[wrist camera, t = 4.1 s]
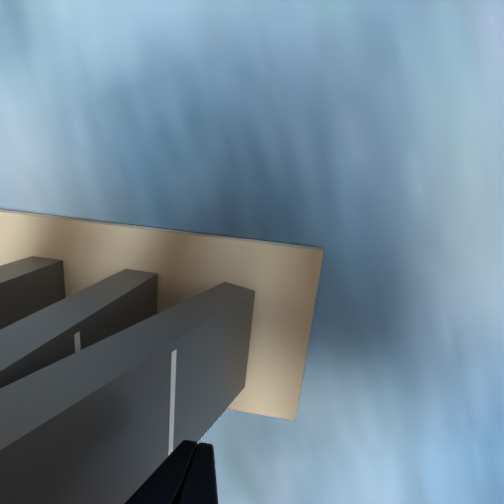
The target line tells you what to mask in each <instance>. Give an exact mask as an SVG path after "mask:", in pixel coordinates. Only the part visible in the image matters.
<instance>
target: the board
mask: <svg viewBox="0 0 504 504" xmlns="http://www.w3.org/2000/svg"><path fill="white" fill-rule="evenodd" d="M323 254H324V250H323V248H319V247H311V246H302V245H294V244H286V243H277V242H269V241H261V240H253V239H244V238H236V237H228V236H219V235H211V234H203V233H194V232H186V231H178V230H169V229H161V228H153V227H144V226H136V225H128V224H119V223H111V222H103V221H95V220H86V219H78V218H70V217H61V216H53V215H45V214H36V213H28V212H20V211H11V210H3V209H0V266H1V265H4V264H8V263H11V262H14V261H17V260H21V259H24V258H27V257H30V256H36V257H44V258H51V259H59V260H63V270H64V284H65V298H66V297H68V296H70V295H73V294H75V293H77V292H79V291H81V290H83V289H85V288H87V287H89V286H91V285H93V284H95V283H97V282H99V281H101V280H103V279H105V278H108V277H110V276H112V275H114V274H116V273H118V272H120V271H122V270H124V269H132V270H138V271H145V272H151V273H157V314H158V313H160V312H162V311H164V310H166V309H169V308H171V307H173V306H175V305H177V304H179V303H181V302H183V301H185V300H187V299H190V298H192V297H194V296H196V295H198V294H200V293H202V292H204V291H206V290H208V289H211V288H213V287H215V286H217V285H219V284H221V283H223V282H228V283H231V284H234V285H238V286H241V287H244V288H247V289H251V290H254V291H255V298H254V308H253V317H252V326H251V335H250V344H249V353H248V363H247V372H246V381H245V388H244V389H243V390H242V391H241V392H240V393H239V395H238V396H237V397H236V398H235V399H234V400H233V402H232V403H231V404H230V405H229V406H228V407H227V409H230V410H236V411H242V412H248V413H254V414H259V415H265V416H271V417H277V418H283V419H289V420H295V421H296V415H297V409H298V403H299V397H300V391H301V385H302V379H303V373H304V367H305V361H306V355H307V349H308V343H309V337H310V331H311V325H312V319H313V313H314V307H315V302H316V296H317V290H318V284H319V278H320V272H321V266H322V260H323Z"/></svg>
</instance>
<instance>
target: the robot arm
mask: <svg viewBox="0 0 504 504" xmlns="http://www.w3.org/2000/svg"><path fill="white" fill-rule="evenodd" d="M124 504H218V494H217V483H216V471H215V460H214V449H213V445H212V444H207V443H202V442H201V443H199V444H198V443H197V442H196V441H191V440H183V441H182V442H181V443H180V444H179V445H178V446H177V447H176V448H175V449H174V450H173V452H172V453H171V454H170V455H169V456H168V457H167V458H166V459H165V460H164V461H163V462H162V463H161V464H160V466H159V467H158V468H157V469H156V470H155V471H154V472H153V473H152V474H151V475H150V476H149V477H148V479H147V480H146V481H145V482H144V483H143V484H142V485H141V486H140V487H139V488H138V489H137V490H136V492H135V493H134V494H133V495H132V496H131V497H130V498H129V499H128V500H127V501H126V502H125V503H124Z"/></svg>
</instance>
